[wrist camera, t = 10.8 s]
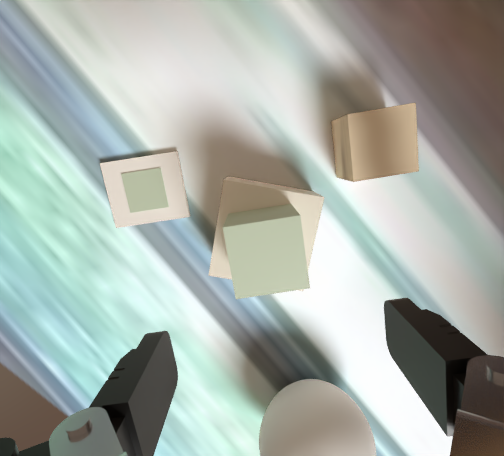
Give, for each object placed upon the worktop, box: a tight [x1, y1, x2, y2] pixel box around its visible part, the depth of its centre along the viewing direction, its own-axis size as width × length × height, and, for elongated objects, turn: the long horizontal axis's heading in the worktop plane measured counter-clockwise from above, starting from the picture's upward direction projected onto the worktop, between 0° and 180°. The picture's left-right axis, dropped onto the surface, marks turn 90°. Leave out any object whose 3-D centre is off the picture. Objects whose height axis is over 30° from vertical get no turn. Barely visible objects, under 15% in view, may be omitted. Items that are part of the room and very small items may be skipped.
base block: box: [209, 176, 324, 291], centre depth 28 cm, size 8×8×5 cm
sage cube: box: [223, 204, 310, 299], centre depth 23 cm, size 5×5×5 cm
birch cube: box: [331, 103, 419, 182], centre depth 26 cm, size 5×5×5 cm
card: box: [100, 151, 191, 228], centre depth 29 cm, size 7×6×1 cm
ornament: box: [259, 379, 376, 456], centre depth 29 cm, size 10×10×12 cm
